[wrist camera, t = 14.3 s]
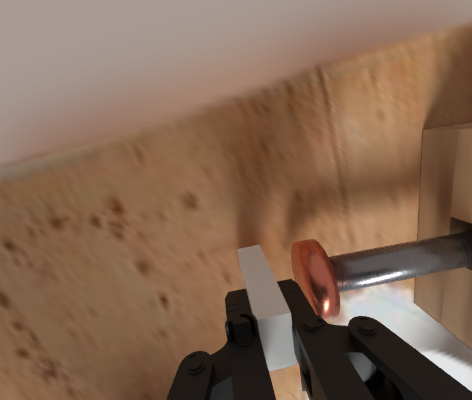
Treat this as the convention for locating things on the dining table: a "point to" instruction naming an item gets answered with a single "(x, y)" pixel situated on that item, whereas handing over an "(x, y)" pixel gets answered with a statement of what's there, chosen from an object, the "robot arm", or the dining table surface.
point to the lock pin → (372, 266)
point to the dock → (446, 224)
